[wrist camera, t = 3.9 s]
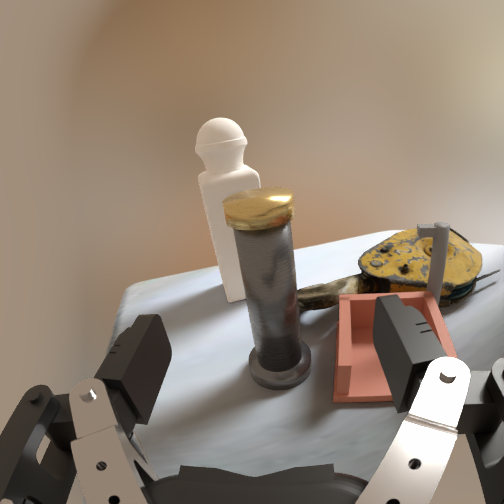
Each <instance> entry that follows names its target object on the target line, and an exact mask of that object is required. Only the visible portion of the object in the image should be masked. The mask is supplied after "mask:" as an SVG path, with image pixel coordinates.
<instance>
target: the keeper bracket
mask: <svg viewBox="0 0 504 504" xmlns="http://www.w3.org/2000/svg"><path fill="white" fill-rule="evenodd" d="M449 232H450V225H449V224H447V223H444V222H436V223H434V224H418V225H417V235H418V236H419V237H433V243H432V253H431V261H430V269H429V277H428V284H427V290H426V291H422V292H401V293H377V294H343V295H339V321H337V334H336V360H335V378H334V394H333V402H379V401H393V398H392V395H391V392H390V389H389V386H388V383H387V380H386V377H385V375H384V372H383V369H382V366H381V363H380V361H379V358H378V355H377V353H376V350H375V347H374V343H373V322H374V312H375V302H376V298H377V297H378V296H386V295H393V294H397V295H398V296H399V298H400V299H401V301H402V302H403V304H404V306H412V307H414V308H415V309H417V310H418V311H420V312H421V313H422V315H423V316H424V318H425V319H426V321H427V324H429V326H430V327H431V329H432V331H433V332H434V334H435V335H436V337H437V339H438V340H439V342H440V344H441V345H442V347H443V349H444V350H445V352H446V354H447V355H448V357H450V358H455V359H458V358H457V355H456V352H455V349H454V346H453V343H452V341H451V338H450V335H449V333H448V330H447V327H446V325H445V322H444V320H443V317H442V315H441V312H440V310H439V308H438V305H439V300H440V295H441V289H442V284H443V278H444V271H445V265H446V258H447V250H448V241H449Z"/></svg>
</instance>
